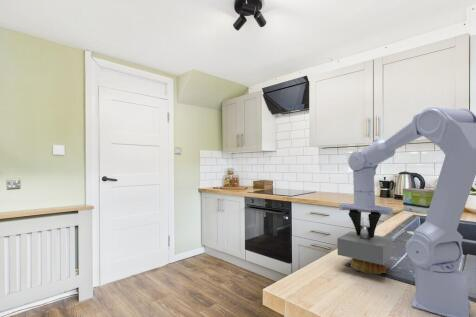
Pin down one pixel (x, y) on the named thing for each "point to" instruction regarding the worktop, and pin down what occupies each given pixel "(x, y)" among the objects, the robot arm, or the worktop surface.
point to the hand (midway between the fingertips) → (365, 236)
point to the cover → (365, 246)
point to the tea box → (417, 199)
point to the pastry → (367, 267)
